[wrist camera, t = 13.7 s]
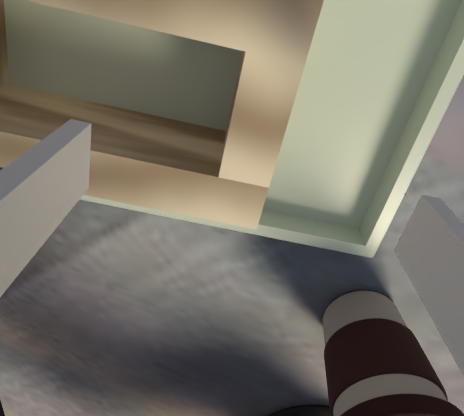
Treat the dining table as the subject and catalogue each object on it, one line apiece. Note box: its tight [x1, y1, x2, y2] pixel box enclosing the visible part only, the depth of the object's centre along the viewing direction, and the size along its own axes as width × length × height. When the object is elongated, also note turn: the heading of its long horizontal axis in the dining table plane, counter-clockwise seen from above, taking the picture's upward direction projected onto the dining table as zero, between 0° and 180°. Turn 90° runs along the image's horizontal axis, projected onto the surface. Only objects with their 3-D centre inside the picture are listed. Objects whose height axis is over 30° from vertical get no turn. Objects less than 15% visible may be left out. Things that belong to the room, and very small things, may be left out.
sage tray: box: [4, 0, 464, 258], centre depth 27 cm, size 21×36×3 cm, turn 78°
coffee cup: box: [323, 291, 464, 416], centre depth 33 cm, size 10×10×15 cm
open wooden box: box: [0, 0, 324, 230], centre depth 24 cm, size 13×22×8 cm, turn 78°
